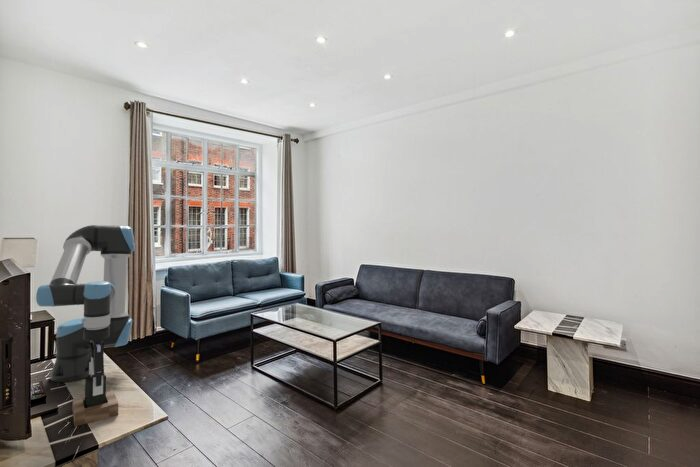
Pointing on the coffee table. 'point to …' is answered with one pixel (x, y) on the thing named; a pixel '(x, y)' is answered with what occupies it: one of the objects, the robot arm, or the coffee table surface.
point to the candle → (89, 397)
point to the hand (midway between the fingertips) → (95, 386)
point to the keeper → (94, 409)
